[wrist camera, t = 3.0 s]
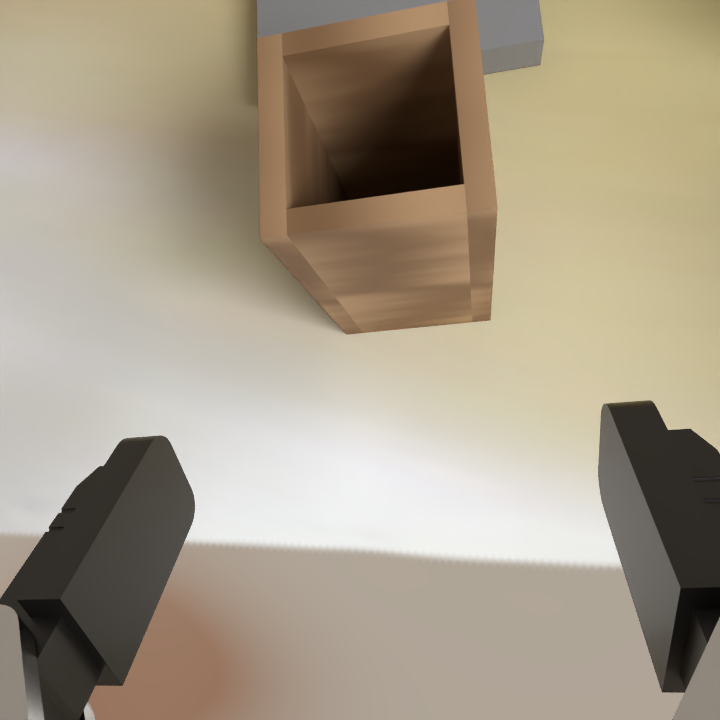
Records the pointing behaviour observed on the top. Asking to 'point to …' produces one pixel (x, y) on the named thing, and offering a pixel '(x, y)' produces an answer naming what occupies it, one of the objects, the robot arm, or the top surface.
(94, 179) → the top surface
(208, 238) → the top surface
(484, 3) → the post base
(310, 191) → the walnut sleeve
